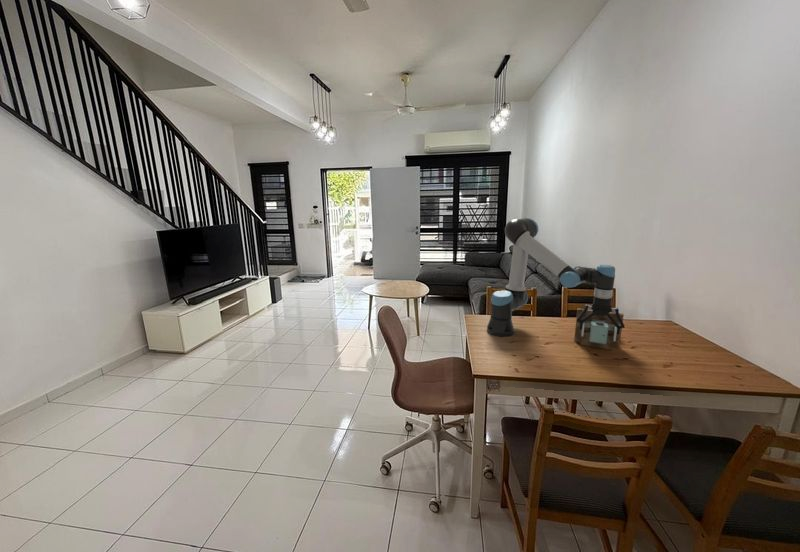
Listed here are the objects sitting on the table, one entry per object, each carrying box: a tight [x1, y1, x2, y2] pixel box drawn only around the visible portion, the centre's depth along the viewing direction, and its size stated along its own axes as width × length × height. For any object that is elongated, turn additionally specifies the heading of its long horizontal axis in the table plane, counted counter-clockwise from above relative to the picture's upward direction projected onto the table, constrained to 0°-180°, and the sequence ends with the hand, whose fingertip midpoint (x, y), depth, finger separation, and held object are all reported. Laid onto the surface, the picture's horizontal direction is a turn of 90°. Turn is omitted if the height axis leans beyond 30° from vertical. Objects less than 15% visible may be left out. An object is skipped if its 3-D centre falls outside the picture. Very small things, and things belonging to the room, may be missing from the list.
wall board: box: [573, 307, 624, 351], centre depth 164 cm, size 20×8×18 cm, turn 61°
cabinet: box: [589, 319, 608, 344], centre depth 159 cm, size 7×9×10 cm
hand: (597, 337), depth 158 cm, fingers open, 13 cm apart
